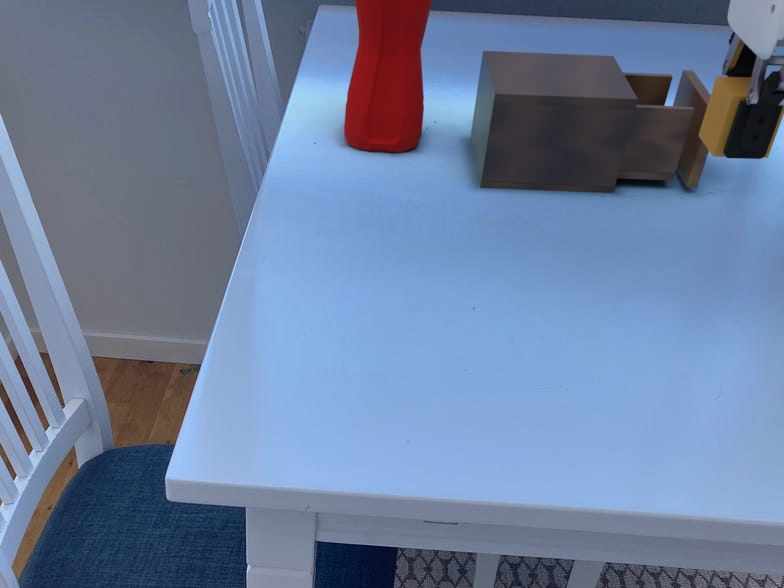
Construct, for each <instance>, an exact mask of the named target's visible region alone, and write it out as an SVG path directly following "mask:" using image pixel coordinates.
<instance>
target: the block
mask: <svg viewBox="0 0 784 588" xmlns="http://www.w3.org/2000/svg"><path fill="white" fill-rule="evenodd" d="M766 78H767V77H765V78H764V80H765V79H766ZM750 81H751V77H728V76H716V77H715V79H714V82H713V83H714V84H713V87H712V90H711V93H710V95H711V96H710V99H709V103H708V106H707V109H706V112H705V116H704V119H703V122H702V125H701V129H700V132H699V137H700V139H701V140H702V141H703V143H704V144H705V146H706V147H707V149H708V150H709V153H710V154H711V156H712V157H716V158H717V157H718V158H727V157H726V156H725V155H724V148H725V145H726V142H727V139H728V136H729V133H730V130H731V127H732V124H733V121H734V118H735V115H736V112H737V109H738V106H739V102H740V100H746V97H747V93H748V89H749V85H750ZM783 117H784V106H783V109H782V111H781V114H780V117H779V120H778V122H777V125H776V128H775V131H774V133H773V136H772V139H771V142H770V144H769V147H768V150H767V153H766V155H765V156H764V157H763V158H762V159H768V158H769V156H770V153H771V150H772V147H773V146H774V143H775V140H776V138H777V137H776V136H777V134H778V131H779V128H780V125H781V123H782V120H783Z"/></svg>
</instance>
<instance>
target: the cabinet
mask: <svg viewBox="0 0 784 588" xmlns="http://www.w3.org/2000/svg"><path fill="white" fill-rule="evenodd" d="M623 72H624V71H622V68H621V67H620V65H619V63H618V61H617V60H616V58H615V56H614V55H602V54H601V55H597V54H575V53H573V54H572V53H549V52H522V51H499V50H498V51H495V50H482V55H481V63H480V69H479V75H478V76H479V77H478V82H477V89H476V97H475V102H474V103H475V104H474V108H473V109H474V110H473V118H472V122H471V123H472V124H471V130H470V136H469V137H470V138H469V142H470V147H471V151H472V156H473V161H474V165H475V166H474V167H475V171H476V175H477V179H478V185H479V188H480V189H495V190H496V189H497V190H499V189H500V190H521V191H522V190H523V191H524V190H525V191H546V192H547V191H548V192H550V191H551V192H569V193H570V192H571V193H597V194H600V193H601V194H614V191H615V187H616V184H617V181H618V178H617V177H618V173H619V169H620V165H621V162H622V158H623V154H624V150H625V146H626V143H627V139H628V135H629V131H630V127H631V124H632V120H633V116H634V112H635V108H636V105H637V101H638V98H637V97H636V95H635V93H634V91H633V90H632V88H631V86H630V84H629V83H628V81H627V79H626V77H625V76H624V74H623Z"/></svg>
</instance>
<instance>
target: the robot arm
mask: <svg viewBox="0 0 784 588" xmlns="http://www.w3.org/2000/svg"><path fill="white" fill-rule="evenodd" d="M727 22H728V23H727V24H728V25H729V27H730V28H731V34H730V38H729V39H728V44H729V48H728V50H727V52H726V55H725V58H724V60H723V63H722V67H721V75H722V77H751V81H750V85H749V89H748V93H747V97H746V100H740V102H739V106H738V109H737V112H736V115H735V118H734V121H733V124H732V127H731V130H730V133H729V136H728V139H727V142H726V145H725V148H724V155H725V156H726V157H725V158H726V159H740V160H741V159H744V160H745V159H746V160H747V159H748V160H761V159H764V158H763V157H764V156H765V155H766V153H767V150H768V147H769V144H770V142H771V139H772V136H773V133H774V131H775V128H776V125H777V122H778V120H779V117H780V114H781V111H782V109H783V106H784V55H783V54H776V52H777V51H776V50H775V49H776V47H784V0H730V1H729V5H728V9H727ZM768 66H780V68H779V70H772V71H771V72H770V73H769V74H768V76H767V77H766V74H767V69H768ZM764 78H766V79H765V80H764Z"/></svg>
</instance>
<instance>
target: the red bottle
mask: <svg viewBox="0 0 784 588" xmlns="http://www.w3.org/2000/svg"><path fill="white" fill-rule="evenodd" d="M433 1H434V0H354V2H355V3H354V4H355V10H356V18H357V26H358V46H357V50H356V54H355V58H354V63H353V68H352V72H351V76H350V81H349V85H348V89H347V94H346V103H345V110H344V111H345V112H344V123H343V135H344V139H345V140H346V142H347V144H348V145H349V146H351V147H353V148H355V149H357V150H358V151H366V152H383V153H397V154H398V153H399V154H400V153H405V152H408V151H411V150H413V149H415V148H416V147H417V146H418V144H419V143H420V141H421V139H422V133H423V121H424V111H425V107H424V99H425V97H424V96H425V95H424V81H423V80H424V79H423V63H422V45H423V41H424V36H425V33H426V30H427V25H428V20H429V17H430V13H431V8H432V5H433V4H432V3H433Z"/></svg>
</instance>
